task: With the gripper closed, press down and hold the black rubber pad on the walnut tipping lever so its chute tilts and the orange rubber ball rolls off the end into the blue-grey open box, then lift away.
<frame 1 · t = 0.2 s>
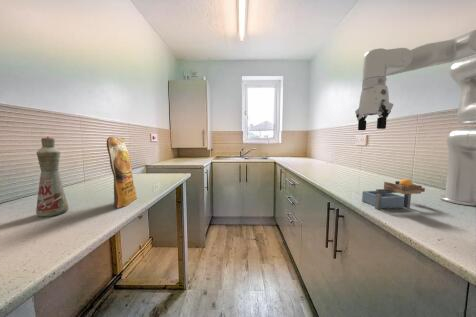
hand: (371, 129, 79), 31 cm above the countertop, tool pointing down, fingers open, 9 cm apart
lever: (399, 186, 80), point 8 cm above the countertop, hinge at 0.0°, touching ball
stand: (391, 208, 79), on the countertop
pancake mix bag: (124, 202, 87), on the countertop
blue-grey open box: (381, 204, 83), on the countertop
bottle: (53, 213, 74), on the countertop
ball: (406, 183, 73), point 11 cm above the countertop, touching lever
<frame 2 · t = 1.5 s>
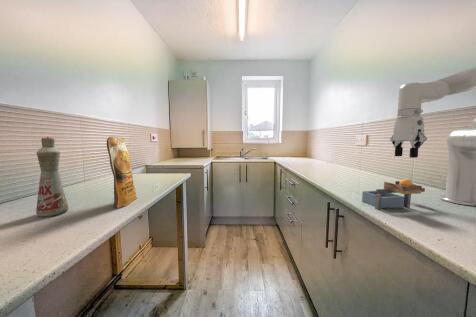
hand: (405, 156, 86), 20 cm above the countertop, tool pointing down, fingers open, 6 cm apart
nothing on the countertop moved.
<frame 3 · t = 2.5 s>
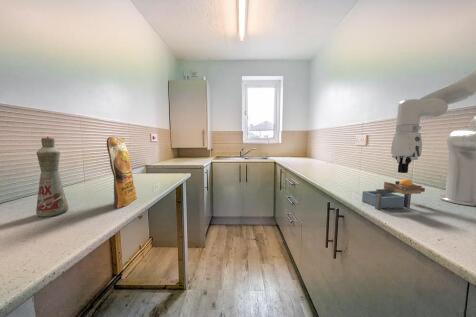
hand: (402, 172, 87), 13 cm above the countertop, tool pointing down, fingers closed
nothing on the countertop moved.
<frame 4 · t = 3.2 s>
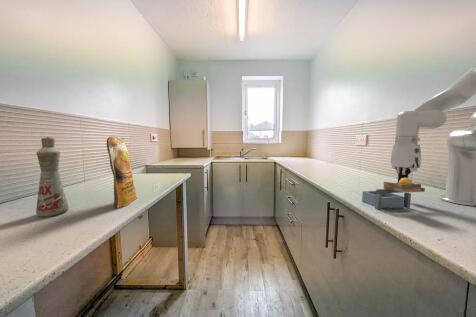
hand: (402, 183, 87), 8 cm above the countertop, tool pointing down, fingers closed
lever: (399, 186, 80), point 8 cm above the countertop, hinge at 4.4°, touching ball, gripper
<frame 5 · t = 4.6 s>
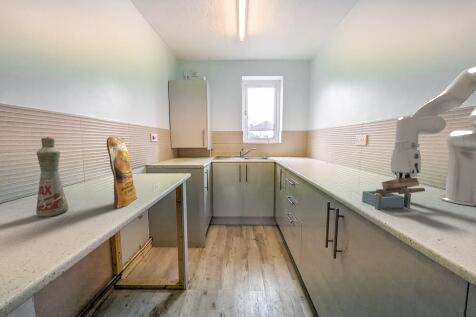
hand: (402, 188, 88), 6 cm above the countertop, tool pointing down, fingers closed
lever: (398, 187, 80), point 8 cm above the countertop, hinge at 21.6°, touching gripper
ball: (377, 197, 85), point 2 cm above the countertop, tilted 57°, touching blue-grey open box
everything else where it was.
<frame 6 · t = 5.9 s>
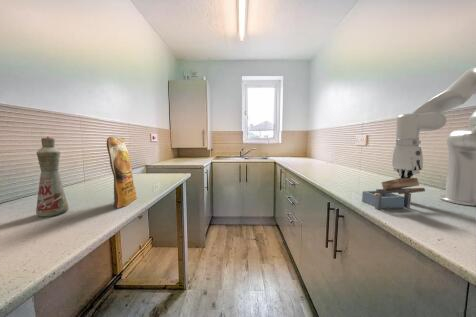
hand: (405, 185, 87), 7 cm above the countertop, tool pointing down, fingers closed
lever: (398, 187, 80), point 8 cm above the countertop, hinge at 21.6°
everything else where it was.
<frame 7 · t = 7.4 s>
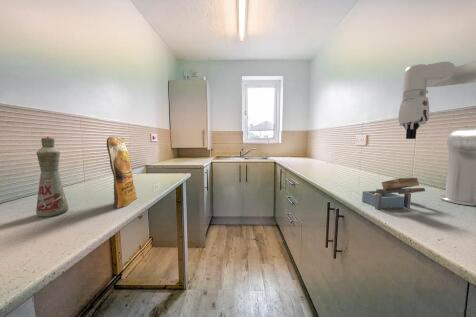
hand: (410, 138, 88), 27 cm above the countertop, tool pointing down, fingers closed
nothing on the countertop moved.
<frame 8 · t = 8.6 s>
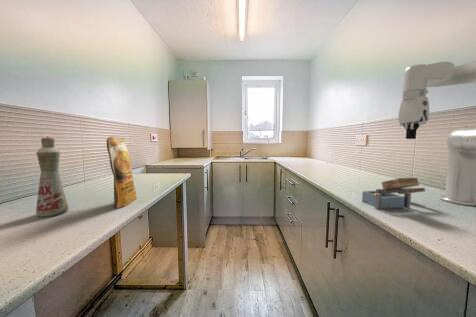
hand: (410, 138, 88), 27 cm above the countertop, tool pointing down, fingers closed
nothing on the countertop moved.
at the end: ball inside the target area on the blue-grey open box (2.4 cm from its centre), point 2.3 cm above the blue-grey open box's base; ball point 2.3 cm above the countertop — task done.
